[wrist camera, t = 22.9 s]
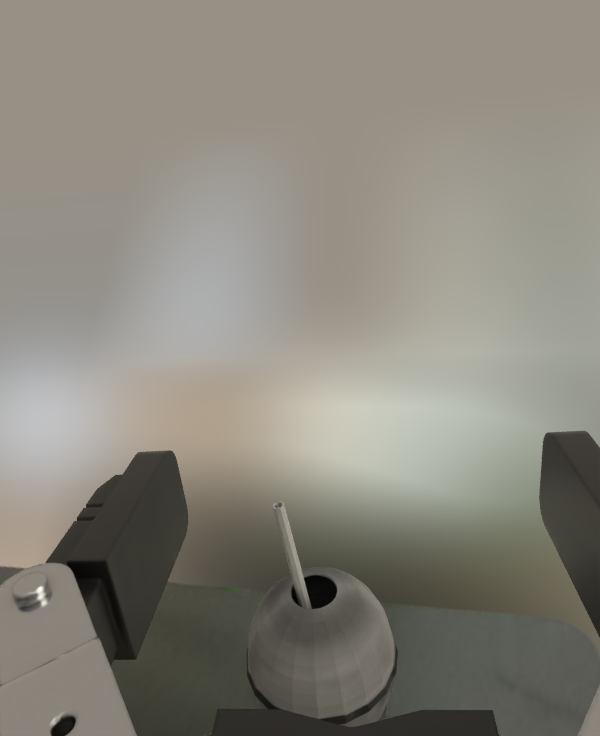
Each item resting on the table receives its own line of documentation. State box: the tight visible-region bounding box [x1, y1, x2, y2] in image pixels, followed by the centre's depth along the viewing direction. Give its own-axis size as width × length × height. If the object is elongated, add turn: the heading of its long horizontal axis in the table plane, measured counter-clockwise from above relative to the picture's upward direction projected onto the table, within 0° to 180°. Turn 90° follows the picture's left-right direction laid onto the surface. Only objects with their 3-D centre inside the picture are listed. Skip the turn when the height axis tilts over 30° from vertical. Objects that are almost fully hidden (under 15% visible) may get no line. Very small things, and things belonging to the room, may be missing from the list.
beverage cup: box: [247, 502, 398, 727], centre depth 28 cm, size 7×7×20 cm
